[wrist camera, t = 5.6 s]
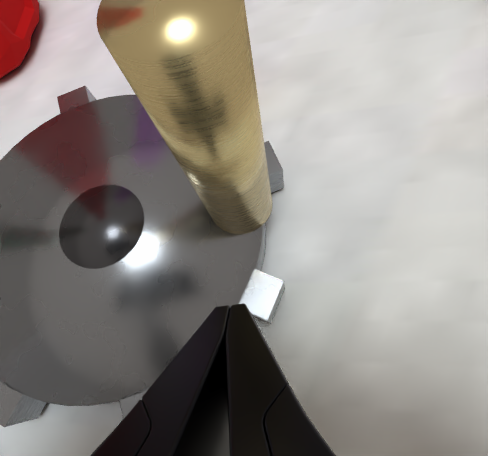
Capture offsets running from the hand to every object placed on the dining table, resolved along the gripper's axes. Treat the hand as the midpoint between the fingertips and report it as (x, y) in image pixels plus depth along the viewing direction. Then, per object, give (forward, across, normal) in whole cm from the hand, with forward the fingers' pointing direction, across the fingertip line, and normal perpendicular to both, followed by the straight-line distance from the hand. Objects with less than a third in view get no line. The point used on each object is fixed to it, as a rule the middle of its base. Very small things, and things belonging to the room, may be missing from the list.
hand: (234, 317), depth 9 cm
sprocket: (+9, +7, +1) cm, 12 cm away
